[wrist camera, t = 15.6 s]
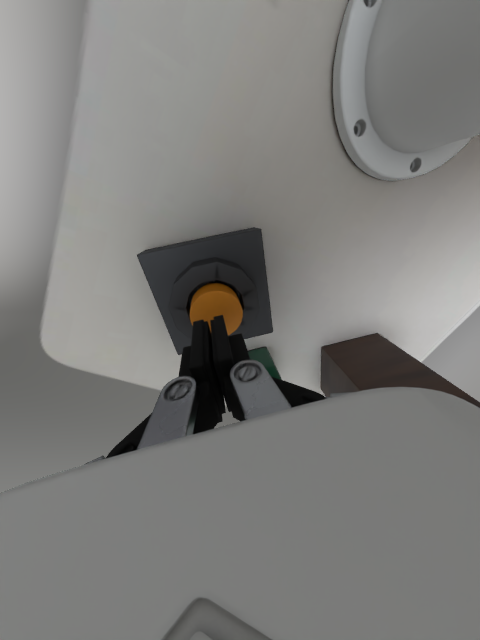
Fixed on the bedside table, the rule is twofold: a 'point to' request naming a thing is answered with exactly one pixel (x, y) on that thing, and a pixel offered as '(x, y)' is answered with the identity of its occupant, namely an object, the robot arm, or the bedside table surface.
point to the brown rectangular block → (378, 369)
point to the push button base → (210, 280)
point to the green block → (265, 361)
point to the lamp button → (216, 306)
